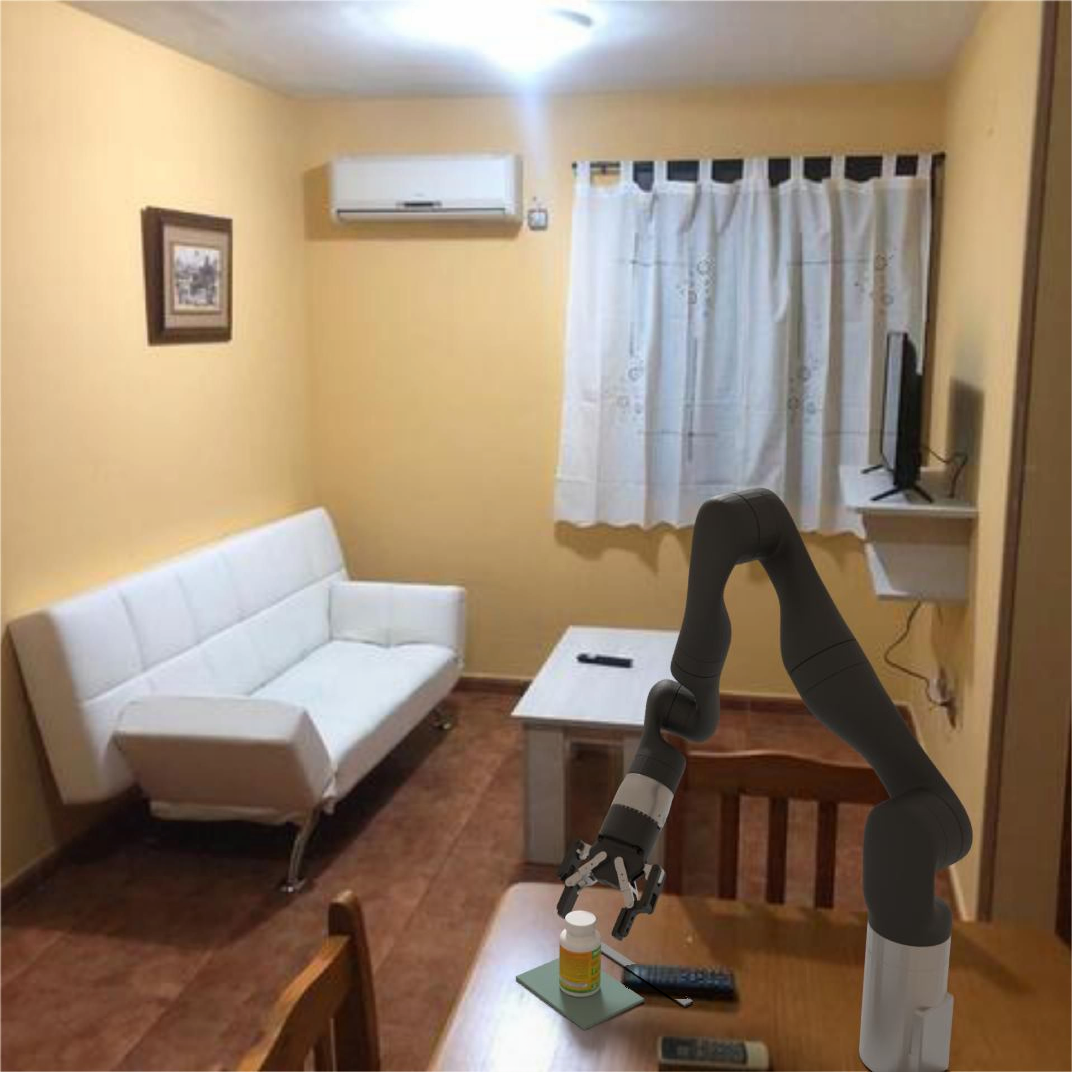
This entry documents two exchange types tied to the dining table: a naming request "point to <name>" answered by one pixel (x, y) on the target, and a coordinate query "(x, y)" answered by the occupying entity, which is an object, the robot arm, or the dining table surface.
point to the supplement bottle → (580, 955)
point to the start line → (624, 961)
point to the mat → (580, 1009)
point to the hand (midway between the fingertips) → (588, 927)
